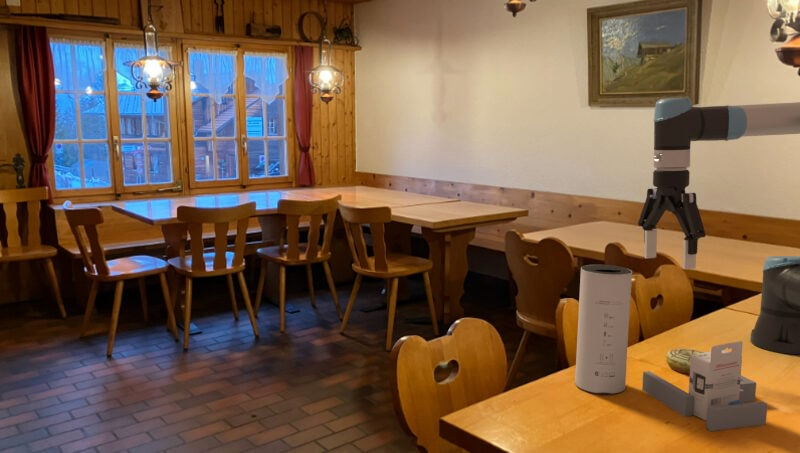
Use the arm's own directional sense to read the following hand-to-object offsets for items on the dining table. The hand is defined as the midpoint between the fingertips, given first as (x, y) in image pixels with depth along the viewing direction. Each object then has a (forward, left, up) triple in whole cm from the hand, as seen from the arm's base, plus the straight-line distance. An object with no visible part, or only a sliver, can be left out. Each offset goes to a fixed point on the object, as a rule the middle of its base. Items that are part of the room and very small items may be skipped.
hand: (668, 263), depth 155 cm
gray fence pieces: (+3, +21, -24) cm, 33 cm away
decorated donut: (-6, +2, -25) cm, 26 cm away
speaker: (+20, +7, -25) cm, 33 cm away
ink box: (+6, +25, -25) cm, 36 cm away
